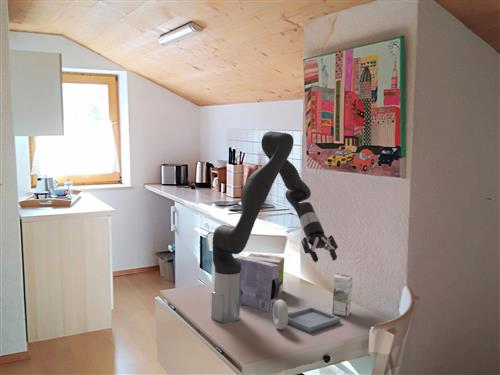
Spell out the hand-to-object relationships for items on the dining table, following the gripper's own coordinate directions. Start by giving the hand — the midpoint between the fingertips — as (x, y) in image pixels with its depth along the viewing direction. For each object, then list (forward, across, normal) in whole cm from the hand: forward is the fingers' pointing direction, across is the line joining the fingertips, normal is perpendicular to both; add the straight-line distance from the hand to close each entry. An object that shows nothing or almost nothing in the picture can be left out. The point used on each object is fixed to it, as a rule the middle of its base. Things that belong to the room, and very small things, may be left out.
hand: (326, 260), depth 200 cm
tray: (+23, -16, +2) cm, 28 cm away
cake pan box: (+7, -27, +17) cm, 33 cm away
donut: (+24, -29, +1) cm, 38 cm away
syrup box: (+21, 0, +4) cm, 21 cm away
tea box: (-3, -16, +27) cm, 32 cm away
